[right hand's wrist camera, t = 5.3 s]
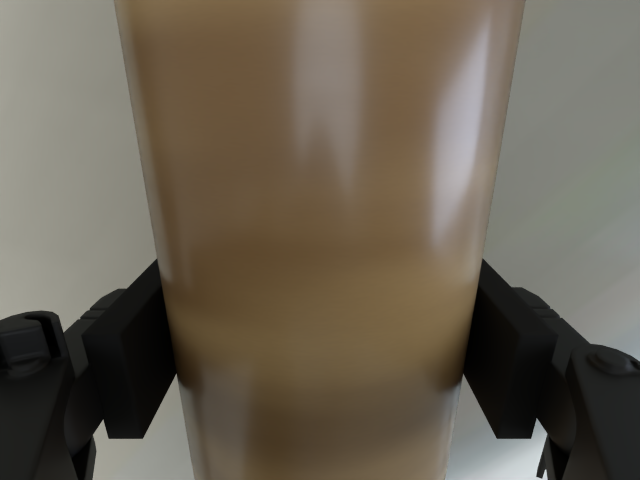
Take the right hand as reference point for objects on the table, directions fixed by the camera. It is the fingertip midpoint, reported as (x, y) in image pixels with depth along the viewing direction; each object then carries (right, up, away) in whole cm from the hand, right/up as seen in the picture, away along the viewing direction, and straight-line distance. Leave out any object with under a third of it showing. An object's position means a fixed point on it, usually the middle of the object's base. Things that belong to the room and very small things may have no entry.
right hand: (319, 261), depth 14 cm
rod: (0, +7, -2) cm, 7 cm away
